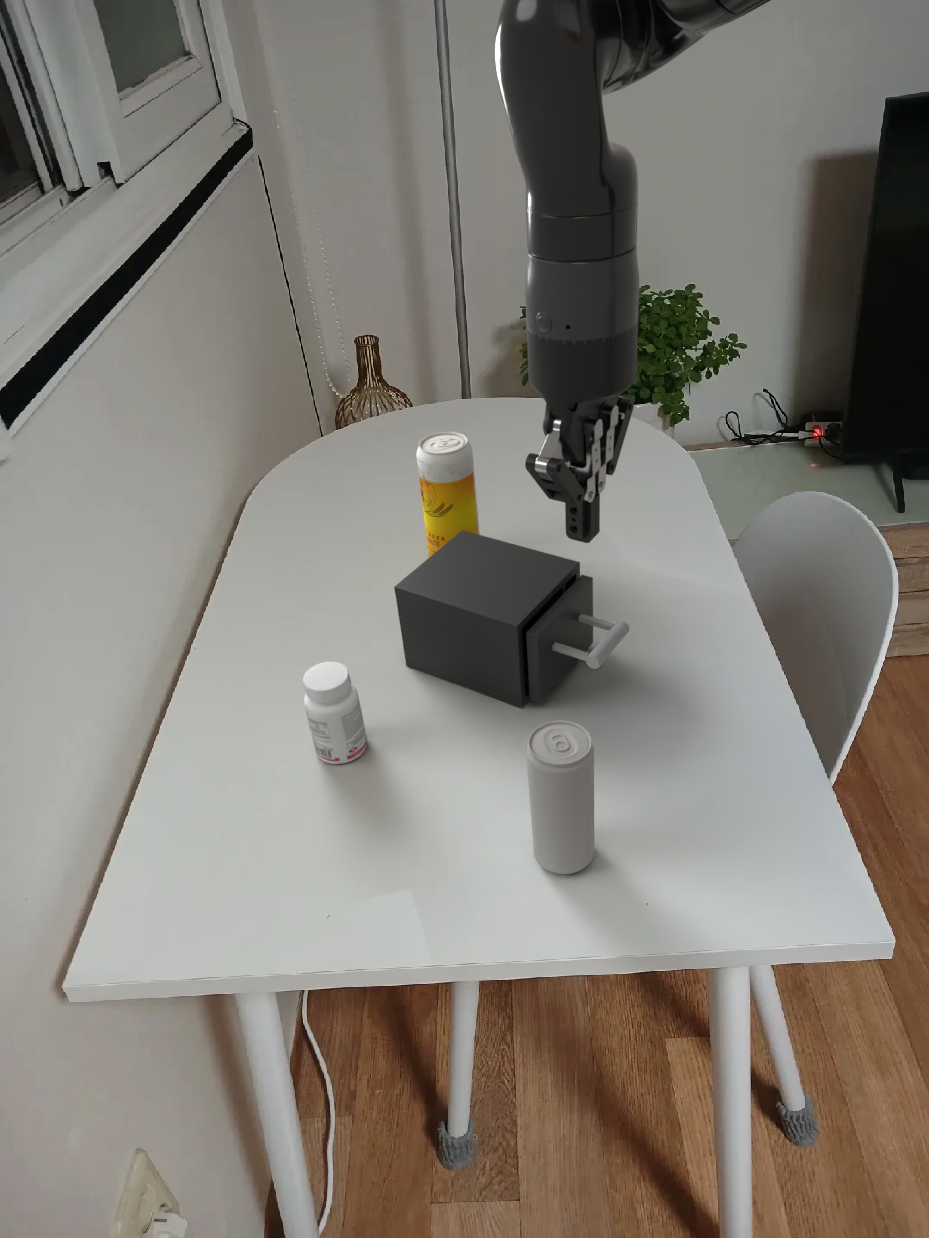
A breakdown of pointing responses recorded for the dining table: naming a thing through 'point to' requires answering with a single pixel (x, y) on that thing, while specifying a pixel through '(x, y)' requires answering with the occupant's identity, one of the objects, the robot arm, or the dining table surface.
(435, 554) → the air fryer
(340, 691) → the pill bottle
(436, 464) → the beer can
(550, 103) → the robot arm
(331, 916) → the dining table surface
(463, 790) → the dining table surface
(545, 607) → the drawer
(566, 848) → the beverage can
